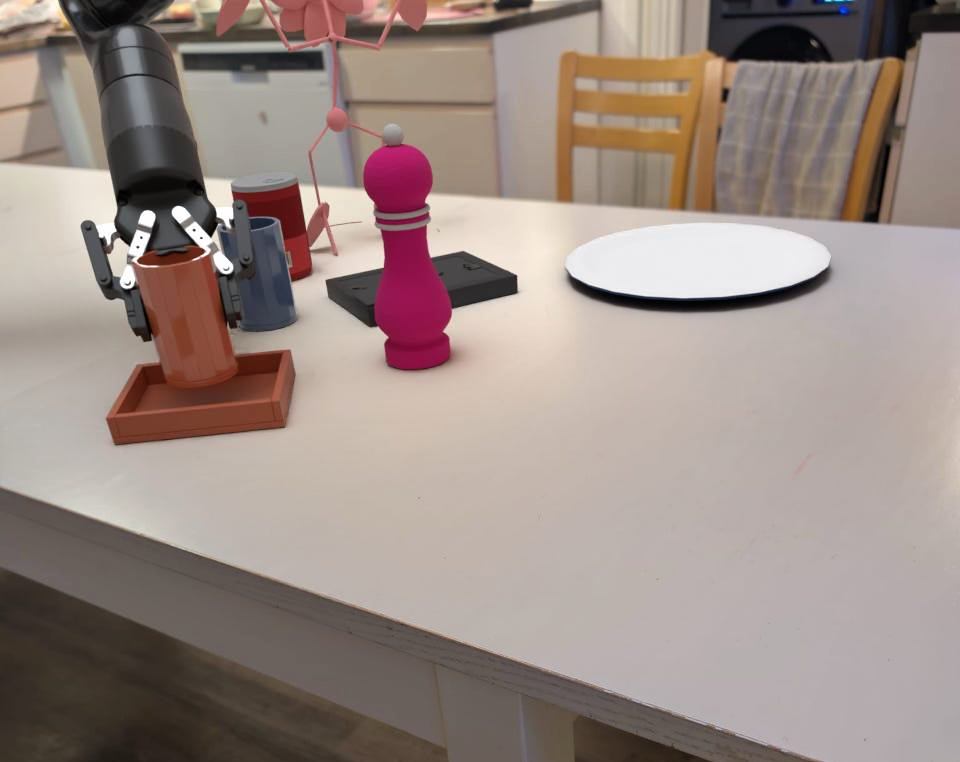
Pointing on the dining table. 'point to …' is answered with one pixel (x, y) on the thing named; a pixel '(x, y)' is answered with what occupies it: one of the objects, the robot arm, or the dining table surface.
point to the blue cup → (264, 277)
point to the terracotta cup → (186, 317)
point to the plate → (698, 261)
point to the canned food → (279, 213)
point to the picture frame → (457, 271)
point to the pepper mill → (406, 256)
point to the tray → (204, 401)
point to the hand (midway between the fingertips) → (189, 330)
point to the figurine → (318, 10)
